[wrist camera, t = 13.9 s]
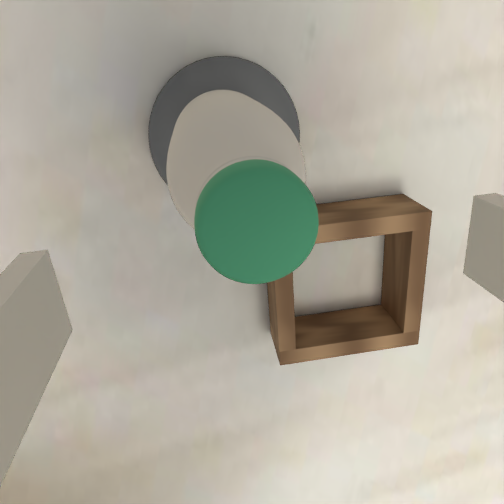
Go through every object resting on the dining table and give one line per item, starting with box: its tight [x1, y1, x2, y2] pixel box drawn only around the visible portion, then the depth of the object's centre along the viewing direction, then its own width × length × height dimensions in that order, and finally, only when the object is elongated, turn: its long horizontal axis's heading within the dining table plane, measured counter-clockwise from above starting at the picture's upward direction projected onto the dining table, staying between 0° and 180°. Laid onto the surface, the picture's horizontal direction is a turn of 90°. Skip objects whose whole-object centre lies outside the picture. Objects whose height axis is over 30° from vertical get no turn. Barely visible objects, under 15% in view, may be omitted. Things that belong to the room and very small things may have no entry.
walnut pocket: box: [267, 194, 432, 365], centre depth 37 cm, size 13×13×5 cm
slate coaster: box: [149, 56, 300, 185], centre depth 33 cm, size 12×12×1 cm
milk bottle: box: [166, 90, 319, 284], centre depth 24 cm, size 8×8×20 cm
